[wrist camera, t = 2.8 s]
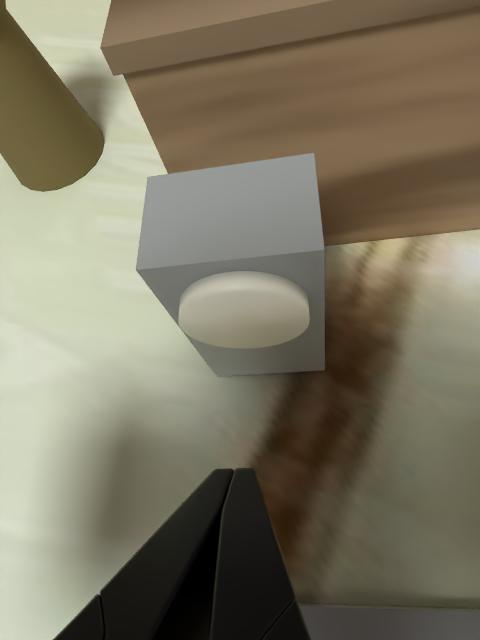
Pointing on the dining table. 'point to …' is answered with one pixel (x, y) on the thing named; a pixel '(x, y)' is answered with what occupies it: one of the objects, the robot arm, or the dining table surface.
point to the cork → (40, 117)
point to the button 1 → (240, 263)
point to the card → (390, 622)
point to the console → (318, 99)
